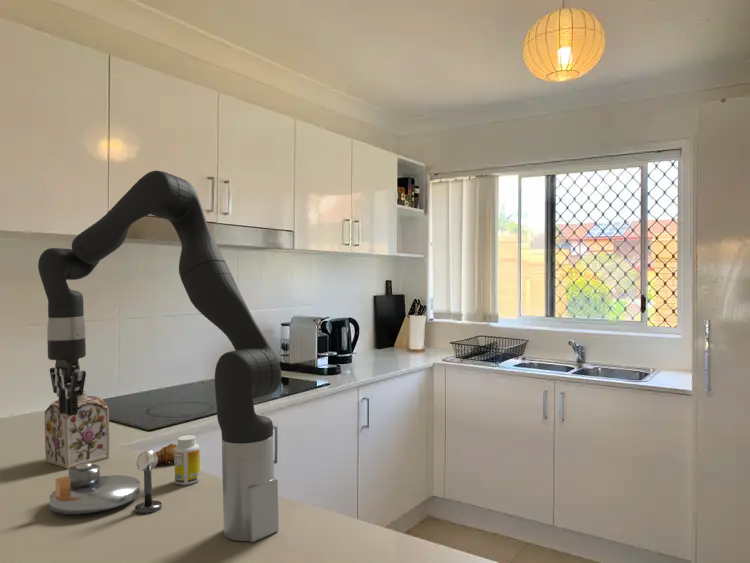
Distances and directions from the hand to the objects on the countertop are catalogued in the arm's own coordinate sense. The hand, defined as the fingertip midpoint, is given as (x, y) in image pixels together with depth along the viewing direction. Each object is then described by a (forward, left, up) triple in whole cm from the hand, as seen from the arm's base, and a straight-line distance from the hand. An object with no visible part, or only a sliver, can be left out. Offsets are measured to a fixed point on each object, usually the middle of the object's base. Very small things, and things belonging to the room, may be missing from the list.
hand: (68, 413), depth 128 cm
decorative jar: (+22, -11, -17) cm, 30 cm away
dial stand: (-25, -5, -17) cm, 31 cm away
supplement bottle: (-17, -19, -17) cm, 31 cm away
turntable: (-13, 0, -16) cm, 21 cm away
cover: (-8, 0, -14) cm, 16 cm away
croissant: (0, -25, -18) cm, 31 cm away
